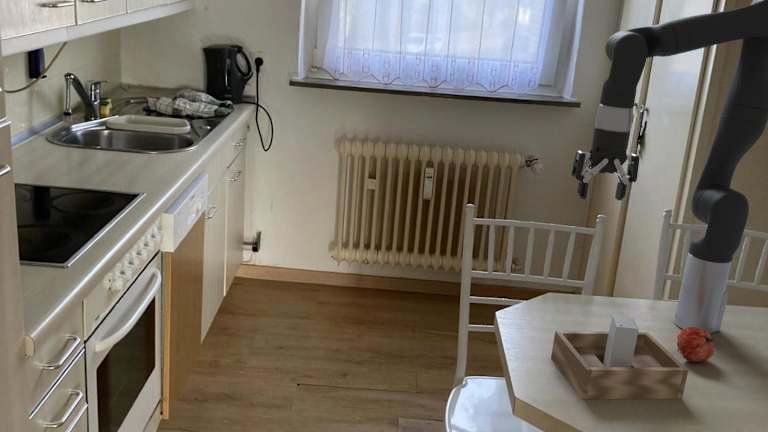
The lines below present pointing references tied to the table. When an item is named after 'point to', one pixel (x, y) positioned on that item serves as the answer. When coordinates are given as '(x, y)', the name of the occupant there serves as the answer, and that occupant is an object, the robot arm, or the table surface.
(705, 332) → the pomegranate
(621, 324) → the skincare box
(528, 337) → the table surface
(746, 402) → the table surface
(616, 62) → the robot arm
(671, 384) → the crate
